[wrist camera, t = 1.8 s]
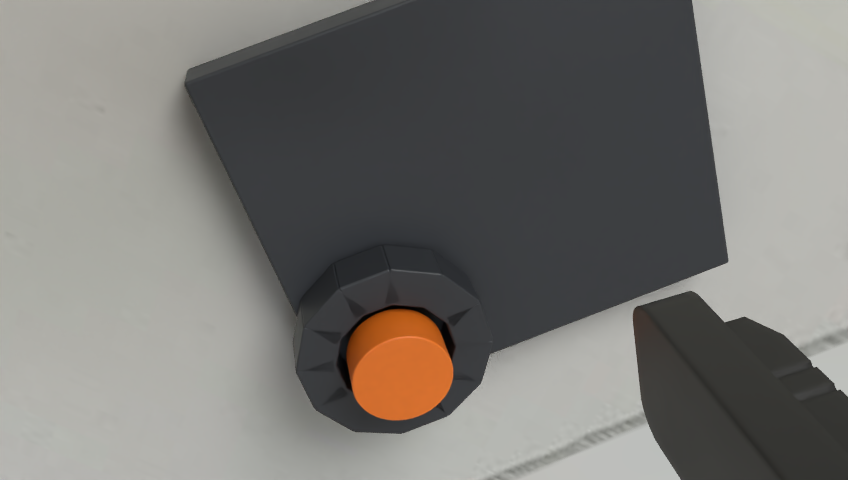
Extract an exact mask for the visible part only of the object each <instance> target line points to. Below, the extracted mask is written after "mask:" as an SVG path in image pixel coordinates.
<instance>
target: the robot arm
mask: <svg viewBox="0 0 848 480" xmlns="http://www.w3.org/2000/svg"><path fill="white" fill-rule="evenodd" d="M633 326H634V335H635V345H636V354H637V364H638V373H639V382H640V392H641V400H642V405H643V409H644V412H645V415H646V419H647V421H648V424H649V427H650V429H651V431H652V433H653V435H654V438H655V440H656V441H657V443H658V445H659V446H660V448H661V450H662V451H663V452H664V454H665V456H666V457H667V459H668V460H669V462H670V463H671V465H672V466H673V468H674V469H675V471H676V473H677V474H678V476H679V477H680V479H681V480H848V397H847V396H846V395H845V394H844V393H843V392H842V391H841V390H838V391H837V390H836V388H835V386H834V383H833V382H832V381H831V380H829V378H828V377H827V376H826V375H825V374H824V373H822V371H821V370H819V369H818V368H817V367H815V368H814V367H813V366H812V364H811V361H810V360H809V359H808V358H807V357H806V356H805V355H804V354H803V353H802V352H801V351H800V350H799V349H798V348H797V347H796V346H795V345H794V344H792V343H791V342H790V341H789V340H788V339H787V338H786V337H785V336H784V335H783V334H781V333H778V332H776V331H774V330H772V329H770V328H768V327H766V326H763V325H761V324H759V323H757V322H755V321H753V320H751V319H748V318H746V317H742V318H739V319H735V320H732V321H729V322H725V323H724V321H723V320H722V319H721V318H720V317H719V316H718V315H717V314H716V313H715V312H714V311H713V310H712V309H711V308H710V307H709V306H708V305H707V303H706V302H705V301H704V300H703V299H702V298H701V297H700V296H699V295H698V294H696V293H695V292H692V291H688V292H685V293H682V294H678V295H675V296H671V297H668V298H665V299H661V300H658V301H654V302H651V303H648V304H644V305H641V306H638V307H636V308H635V309H634V312H633Z"/></svg>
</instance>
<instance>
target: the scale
mask: <svg viewBox="0 0 848 480" xmlns="http://www.w3.org/2000/svg"><path fill="white" fill-rule="evenodd" d="M185 87H186V89H187V91H188V94H189V96H190V98H191V100H192V102H193V104H194V106H195V108H196V110H197V112H198V114H199V116H200V118H201V120H202V122H203V124H204V127H205V129H206V131H207V133H208V135H209V137H210V139H211V141H212V143H213V145H214V147H215V149H216V151H217V153H218V155H219V157H220V160H221V162H222V164H223V166H224V168H225V170H226V172H227V174H228V176H229V178H230V180H231V182H232V184H233V186H234V188H235V190H236V192H237V195H238V197H239V199H240V201H241V203H242V205H243V207H244V209H245V211H246V213H247V215H248V217H249V219H250V221H251V223H252V225H253V228H254V230H255V232H256V234H257V236H258V238H259V240H260V242H261V244H262V246H263V248H264V250H265V252H266V254H267V256H268V258H269V261H270V263H271V265H272V267H273V269H274V271H275V273H276V275H277V277H278V279H279V281H280V283H281V285H282V287H283V289H284V291H285V294H286V296H287V298H288V300H289V302H290V304H291V306H292V308H293V310H294V312H295V314H296V316H297V321H296V327H295V333H294V338H293V347H294V357H295V368H296V373H297V375H298V377H299V379H300V381H301V383H302V385H303V387H304V389H305V391H306V393H307V395H308V397H309V399H310V401H311V403H312V405H313V407H314V408H315V409H316V411H318V412H320V413H322V414H323V415H325V416H327V417H329V418H331V419H332V420H334V421H336V422H338V423H340V424H341V425H343V426H345V427H347V428H348V429H350V430H352V431H355V432H371V433H396V434H402V433H405V432H408V431H410V430H413V429H416V428H418V427H421V426H423V425H426V424H429V423H431V422H434V421H436V420H439V419H442V418H444V417H447V415H450V414H451V413H452V412H453V411H454V410H455V409H456V408H457V407H458V406H459V405H460V404H461V403H462V402H463V401H464V400H465V399H466V398H467V397H468V396H469V395H470V394H471V393H472V392H473V391H474V390H475V389H476V388H477V387H478V386H479V385H480V384H481V382H482V379H483V375H484V372H485V369H486V365H487V362H488V358H489V355H490V354H491V353H494V352H496V351H499V350H502V349H504V348H507V347H509V346H512V345H515V344H517V343H520V342H522V341H525V340H528V339H530V338H533V337H535V336H538V335H541V334H543V333H546V332H548V331H551V330H554V329H556V328H559V327H561V326H564V325H567V324H569V323H572V322H574V321H577V320H580V319H582V318H585V317H587V316H590V315H593V314H595V313H598V312H600V311H603V310H606V309H608V308H611V307H613V306H616V305H619V304H621V303H624V302H626V301H629V300H632V299H634V298H637V297H639V296H642V295H645V294H647V293H650V292H652V291H655V290H658V289H660V288H663V287H665V286H668V285H671V284H673V283H676V282H678V281H681V280H684V279H686V278H689V277H691V276H694V275H697V274H699V273H702V272H704V271H707V270H710V269H712V268H715V267H717V266H720V265H723V264H725V263H727V262H728V254H727V247H726V240H725V233H724V226H723V219H722V212H721V204H720V197H719V190H718V183H717V176H716V169H715V162H714V155H713V148H712V141H711V134H710V126H709V119H708V112H707V105H706V98H705V91H704V84H703V77H702V70H701V63H700V55H699V48H698V41H697V34H696V27H695V20H694V13H693V6H692V0H374V1H371V2H369V3H366V4H363V5H361V6H358V7H355V8H353V9H350V10H347V11H344V12H342V13H339V14H336V15H334V16H331V17H328V18H326V19H323V20H320V21H318V22H315V23H312V24H309V25H307V26H304V27H301V28H299V29H296V30H293V31H291V32H288V33H285V34H282V35H280V36H277V37H274V38H272V39H269V40H266V41H264V42H261V43H258V44H256V45H253V46H250V47H247V48H245V49H242V50H239V51H237V52H234V53H231V54H229V55H226V56H223V57H221V58H218V59H215V60H212V61H210V62H207V63H204V64H202V65H199V66H196V67H194V68H191V69H189V70H188V71H187V75H186V79H185ZM391 309H409V310H414V311H417V312H419V313H422V314H424V315H425V316H427V317H428V318H430V319H431V320H432V321H433V322H434V323H435V324H436V325H437V327H438V328H439V330H440V333H441V335H442V338H443V340H444V343H445V345H446V348H447V350H448V353H449V356H450V358H451V361H452V365H453V380H452V384H451V387H450V389H449V391H448V393H447V394H446V396H445V397H444V399H443V400H442V401H441V402H440V403H439V404H438V405H437V406H436V407H434V408H433V409H431V410H430V411H428V412H427V413H425V414H423V415H420V416H418V417H415V418H412V419H407V420H386V419H381V418H378V417H375V416H373V415H371V414H370V413H368V412H367V411H365V410H364V409H363V408H362V407H361V406H360V405H359V404H358V402H357V401H356V399H355V397H354V394H353V391H352V385H351V380H350V375H349V370H348V365H347V359H346V350H347V345H348V342H349V340H350V337H351V336H352V334H353V332H354V331H355V330H356V328H357V327H358V326H359V325H360V324H361V323H362V322H364V321H365V320H366V319H368V318H369V317H371V316H373V315H375V314H377V313H379V312H382V311H386V310H391Z"/></svg>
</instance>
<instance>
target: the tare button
mask: <svg viewBox="0 0 848 480" xmlns="http://www.w3.org/2000/svg"><path fill="white" fill-rule="evenodd" d="M346 359H347V365H348V370H349V375H350V380H351V385H352V391H353V394H354V397H355V399H356V401H357V402H358V404H359V405H360V406H361V407H362V408H363V409H364V410H365V411H367V412H368V413H370V414H371V415H373V416H375V417H378V418H381V419H386V420H407V419H412V418H415V417H418V416H420V415H423V414H425V413H427V412H428V411H430V410H431V409H433V408H434V407H436V406H437V405H438V404H439V403H440V402H441V401H442V400H443V399H444V397H445V396H446V394H447V393H448V391H449V389H450V387H451V384H452V380H453V365H452V361H451V358H450V356H449V353H448V350H447V348H446V345H445V343H444V340H443V338H442V335H441V333H440V330H439V328H438V327H437V325H436V324H435V323H434V322H433V321H432V320H431V319H430V318H428V317H427V316H425V315H424V314H422V313H419V312H417V311H414V310H409V309H391V310H386V311H382V312H379V313H377V314H375V315H373V316H371V317H369V318H368V319H366V320H365V321H364V322H362V323H361V324H360V325H359V326H358V327H357V328H356V330H355V331H354V332H353V334H352V336H351V337H350V340H349V342H348V345H347V350H346Z"/></svg>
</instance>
